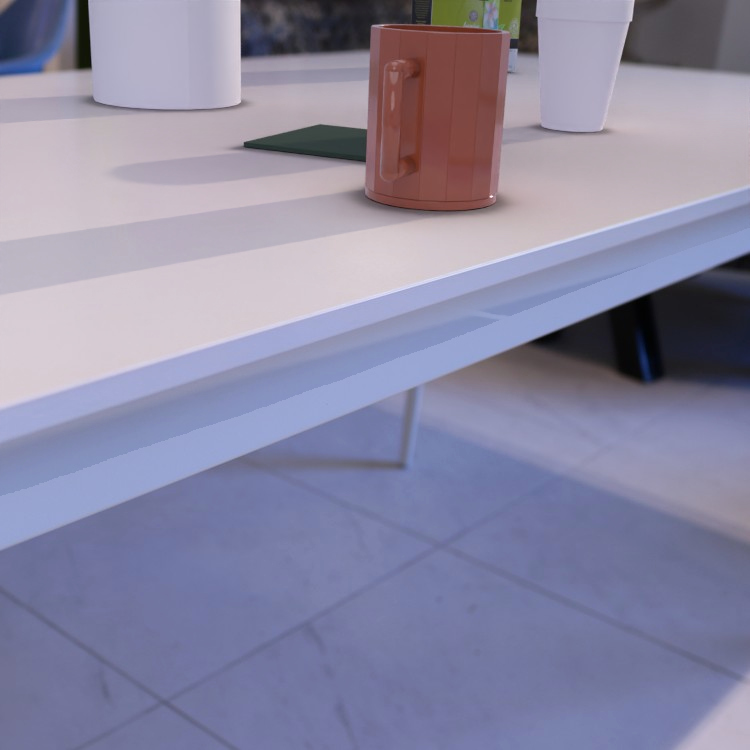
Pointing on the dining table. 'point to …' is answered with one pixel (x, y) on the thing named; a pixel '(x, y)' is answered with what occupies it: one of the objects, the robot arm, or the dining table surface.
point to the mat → (318, 142)
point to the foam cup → (579, 60)
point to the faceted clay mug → (435, 115)
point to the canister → (166, 53)
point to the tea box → (472, 17)
